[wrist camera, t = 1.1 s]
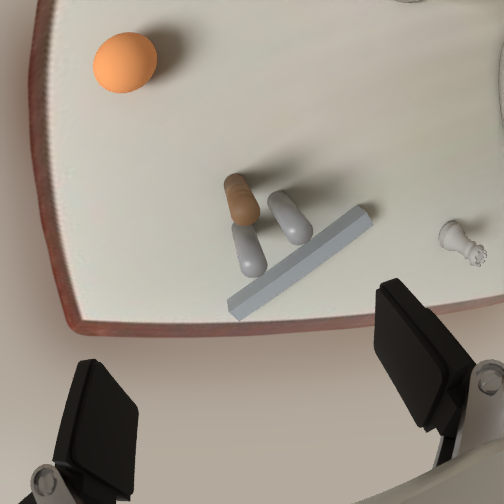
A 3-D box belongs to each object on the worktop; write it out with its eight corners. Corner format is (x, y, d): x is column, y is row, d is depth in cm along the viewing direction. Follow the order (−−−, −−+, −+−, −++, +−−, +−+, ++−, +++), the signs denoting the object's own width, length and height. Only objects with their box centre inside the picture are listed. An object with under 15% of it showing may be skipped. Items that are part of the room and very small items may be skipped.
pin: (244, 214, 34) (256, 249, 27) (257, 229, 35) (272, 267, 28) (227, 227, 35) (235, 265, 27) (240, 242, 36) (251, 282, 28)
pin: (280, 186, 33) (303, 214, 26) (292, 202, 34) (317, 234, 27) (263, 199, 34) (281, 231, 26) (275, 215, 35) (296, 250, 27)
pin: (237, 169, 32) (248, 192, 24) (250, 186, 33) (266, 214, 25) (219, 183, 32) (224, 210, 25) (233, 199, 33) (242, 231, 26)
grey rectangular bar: (357, 205, 36) (366, 212, 34) (364, 217, 37) (373, 224, 34) (227, 299, 39) (228, 312, 37) (236, 309, 40) (239, 321, 38)
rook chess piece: (460, 232, 41) (493, 256, 34) (443, 251, 42) (474, 278, 35) (451, 214, 39) (487, 237, 32) (433, 234, 40) (467, 261, 33)
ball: (138, 28, 23) (124, 13, 18) (173, 66, 26) (166, 58, 20) (93, 67, 24) (71, 62, 19) (127, 105, 27) (110, 106, 21)
